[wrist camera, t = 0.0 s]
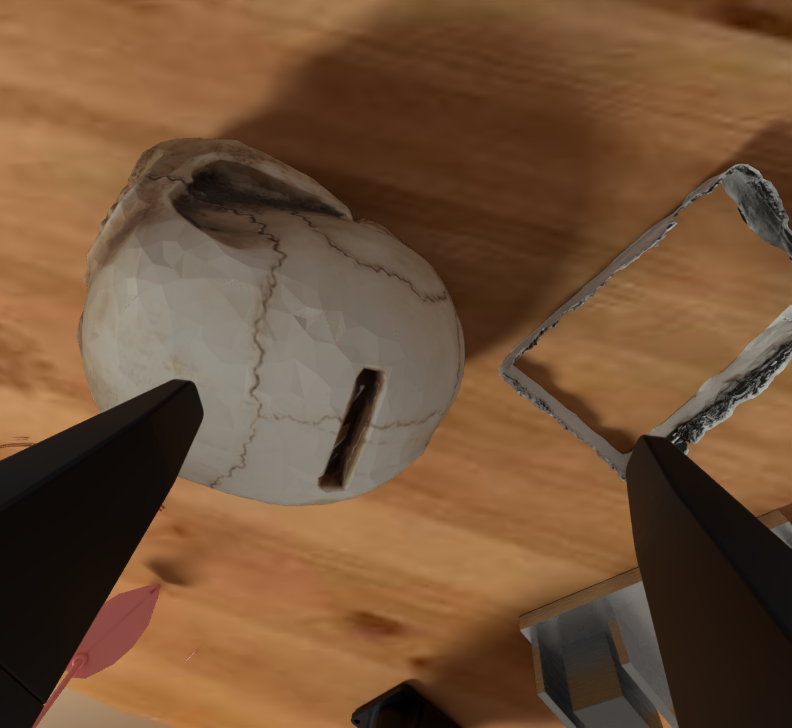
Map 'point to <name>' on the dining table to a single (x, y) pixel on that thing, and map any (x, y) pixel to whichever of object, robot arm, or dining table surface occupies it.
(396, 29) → the dining table surface
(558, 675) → the rack
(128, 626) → the figurine
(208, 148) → the coin bank
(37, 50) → the dining table surface
